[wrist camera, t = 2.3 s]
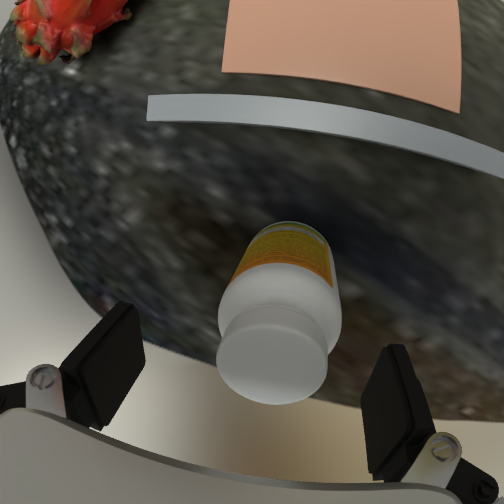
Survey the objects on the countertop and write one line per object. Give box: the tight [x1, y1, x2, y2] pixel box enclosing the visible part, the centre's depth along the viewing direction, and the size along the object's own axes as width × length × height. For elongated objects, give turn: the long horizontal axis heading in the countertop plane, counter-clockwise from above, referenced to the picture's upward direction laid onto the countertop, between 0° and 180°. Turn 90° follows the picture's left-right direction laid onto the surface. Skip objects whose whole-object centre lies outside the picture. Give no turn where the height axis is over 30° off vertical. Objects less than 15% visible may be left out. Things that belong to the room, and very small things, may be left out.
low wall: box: [147, 94, 504, 179], centre depth 13 cm, size 18×1×5 cm, turn 85°
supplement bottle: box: [216, 221, 342, 405], centre depth 14 cm, size 5×5×10 cm
